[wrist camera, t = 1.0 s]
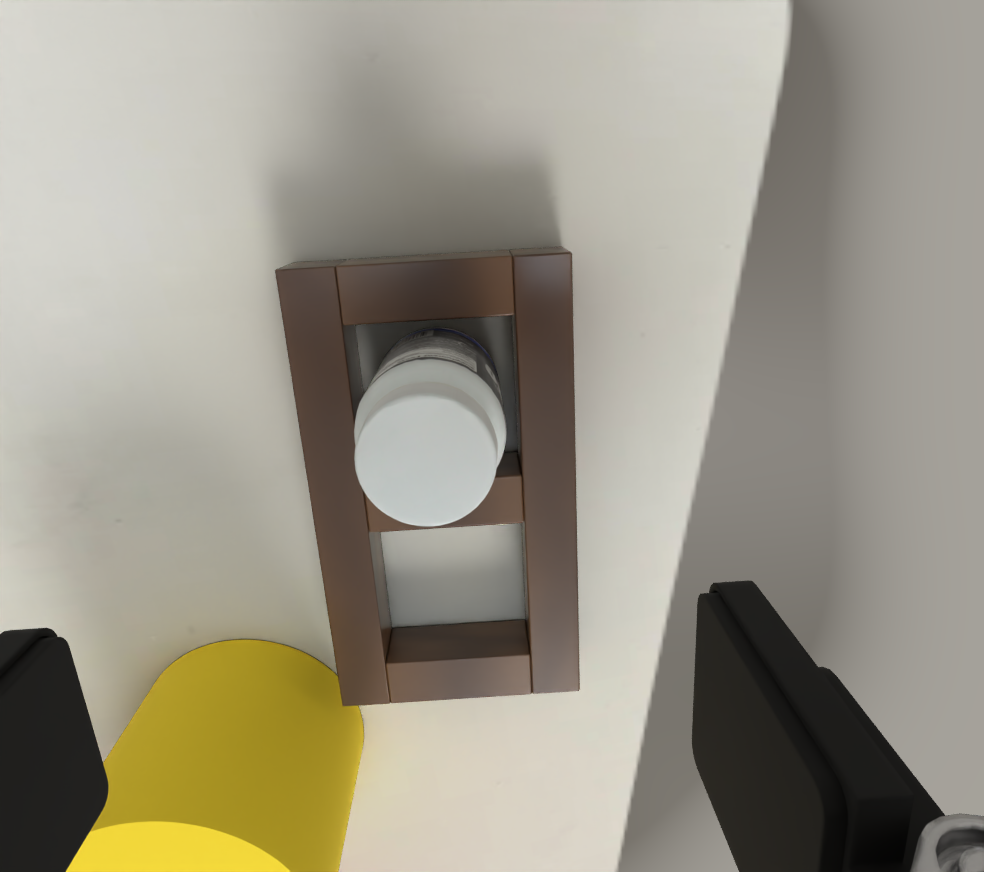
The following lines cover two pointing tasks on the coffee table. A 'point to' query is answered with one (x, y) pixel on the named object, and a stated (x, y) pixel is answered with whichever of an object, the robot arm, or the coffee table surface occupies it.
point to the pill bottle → (430, 428)
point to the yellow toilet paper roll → (231, 768)
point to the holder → (511, 499)
